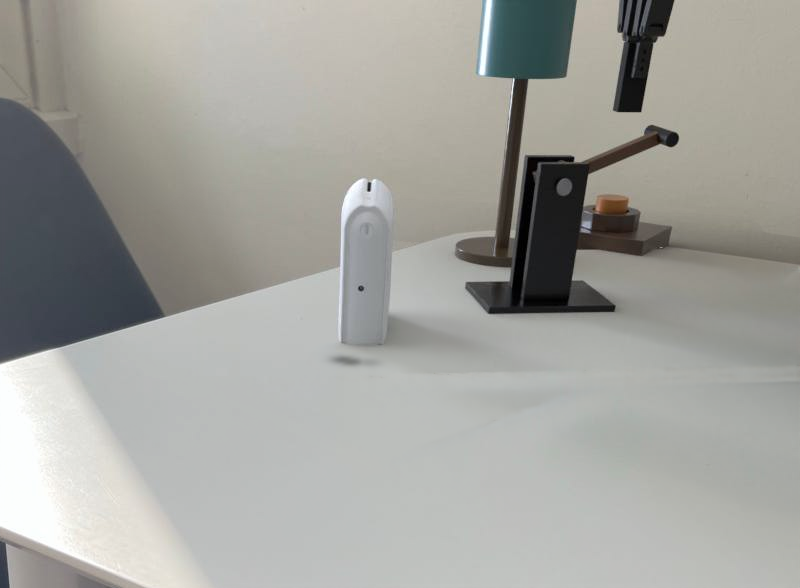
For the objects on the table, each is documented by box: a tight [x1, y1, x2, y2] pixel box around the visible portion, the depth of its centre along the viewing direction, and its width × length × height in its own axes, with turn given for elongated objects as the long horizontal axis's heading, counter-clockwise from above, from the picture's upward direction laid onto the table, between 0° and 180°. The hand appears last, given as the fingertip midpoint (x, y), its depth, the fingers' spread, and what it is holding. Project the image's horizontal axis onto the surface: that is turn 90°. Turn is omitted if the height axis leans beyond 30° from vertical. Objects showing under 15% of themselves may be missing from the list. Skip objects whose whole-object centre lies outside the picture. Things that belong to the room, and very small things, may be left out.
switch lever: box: [533, 124, 680, 183], centre depth 89 cm, size 12×5×2 cm, turn 97°
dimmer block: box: [577, 204, 673, 257], centre depth 116 cm, size 12×10×4 cm
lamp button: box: [595, 193, 630, 214], centre depth 114 cm, size 4×4×2 cm
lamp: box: [454, 0, 578, 268], centre depth 103 cm, size 10×10×25 cm
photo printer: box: [337, 177, 395, 347], centre depth 83 cm, size 10×4×12 cm, turn 177°
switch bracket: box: [464, 154, 616, 315], centre depth 92 cm, size 12×9×13 cm
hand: (626, 111), depth 109 cm, fingers closed
